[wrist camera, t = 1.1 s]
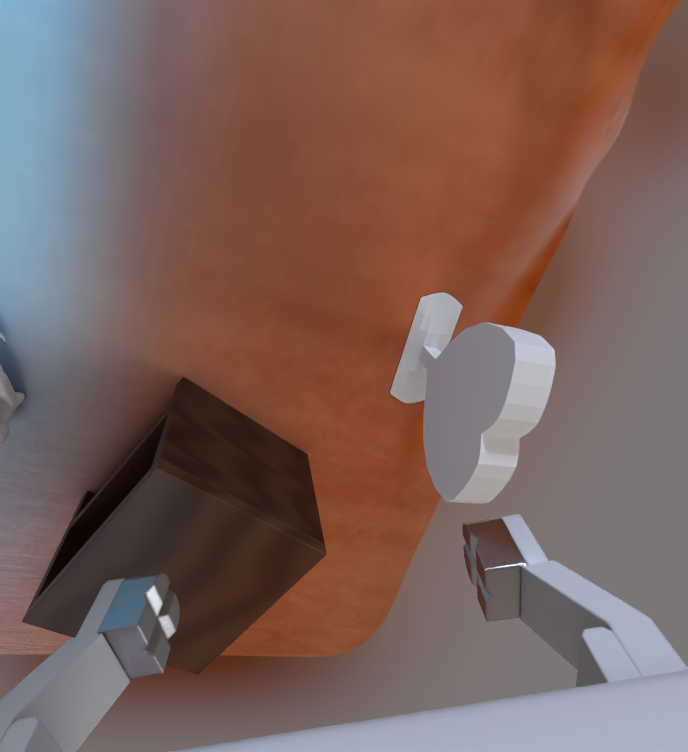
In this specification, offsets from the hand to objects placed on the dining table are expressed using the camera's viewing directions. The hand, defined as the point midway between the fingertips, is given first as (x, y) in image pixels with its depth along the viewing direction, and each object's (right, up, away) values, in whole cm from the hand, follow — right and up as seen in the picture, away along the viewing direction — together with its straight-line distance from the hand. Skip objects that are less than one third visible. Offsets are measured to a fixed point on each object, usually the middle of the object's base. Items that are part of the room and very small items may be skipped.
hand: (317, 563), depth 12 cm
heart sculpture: (+10, +8, +38) cm, 40 cm away
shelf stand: (-16, -6, +39) cm, 43 cm away
